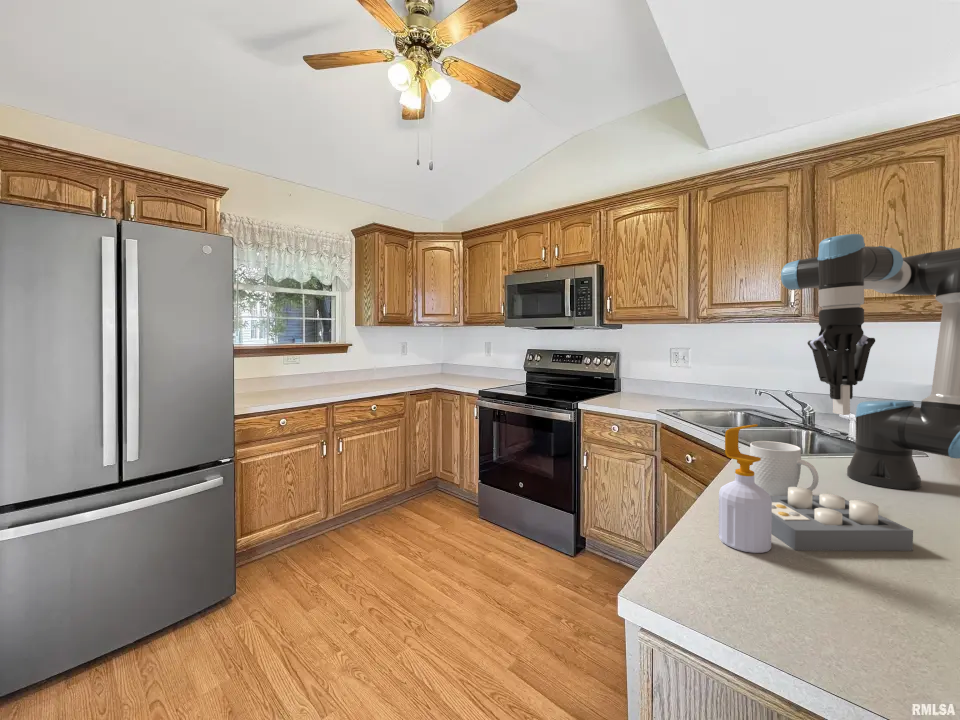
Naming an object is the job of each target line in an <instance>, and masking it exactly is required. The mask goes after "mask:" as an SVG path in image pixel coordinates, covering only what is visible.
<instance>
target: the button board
mask: <svg viewBox="0 0 960 720" xmlns="http://www.w3.org/2000/svg"><path fill="white" fill-rule="evenodd" d="M770 497H771V500H772V530H771V535H773V536H774V537H776V538H777V539H778V540H780V541H781V542H783V543H784V544H785V545H787V546H789V547H790V548H791V549H793V550H794V551H857V552H858V551H863V552H865V551H870V552H871V551H874V552H875V551H876V552H877V551H879V552H880V551H887V552H889V551H890V552H891V551H892V552H893V551H896V552H897V551H898V552H899V551H901V552H902V551H907V552H908V551H909V552H911V551H912V552H913V551H914V549H913V548H914V529H911V528H908V527H906V526H905V525H903V524H900V523H898V522H895V521H893V520H891V519H889V518H887V517H884V516H882V515H880V514H878V525H860V524H858V523H856V522H854V521H852V520H850V519H849V501H850V500H847V499H845V509H832V510H836V511H838V512H840V513H842V525H824V524H822V523H820V522H818V521H817V520H815V519H814V509H815V508H826V507H824V506H822V505H820V504H819V495H813V496H812V509H795V508H793V507H792V506H790V505H788V496H770Z"/></svg>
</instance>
